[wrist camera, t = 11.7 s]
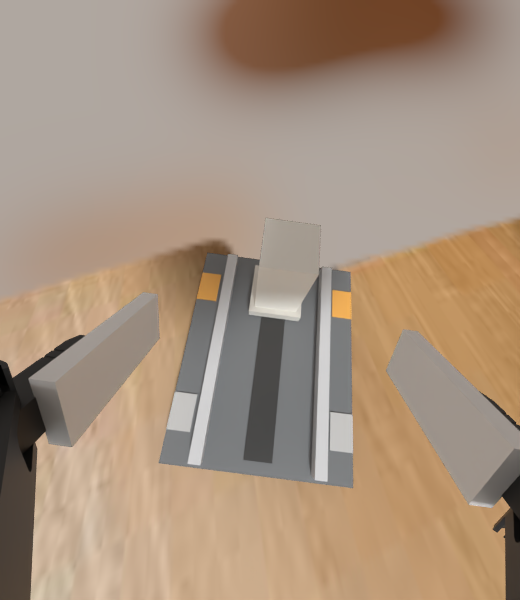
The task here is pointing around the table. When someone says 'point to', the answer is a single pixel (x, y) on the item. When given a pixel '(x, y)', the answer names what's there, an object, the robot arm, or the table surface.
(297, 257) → the switch slider
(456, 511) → the table surface
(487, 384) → the table surface
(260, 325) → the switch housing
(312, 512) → the table surface
